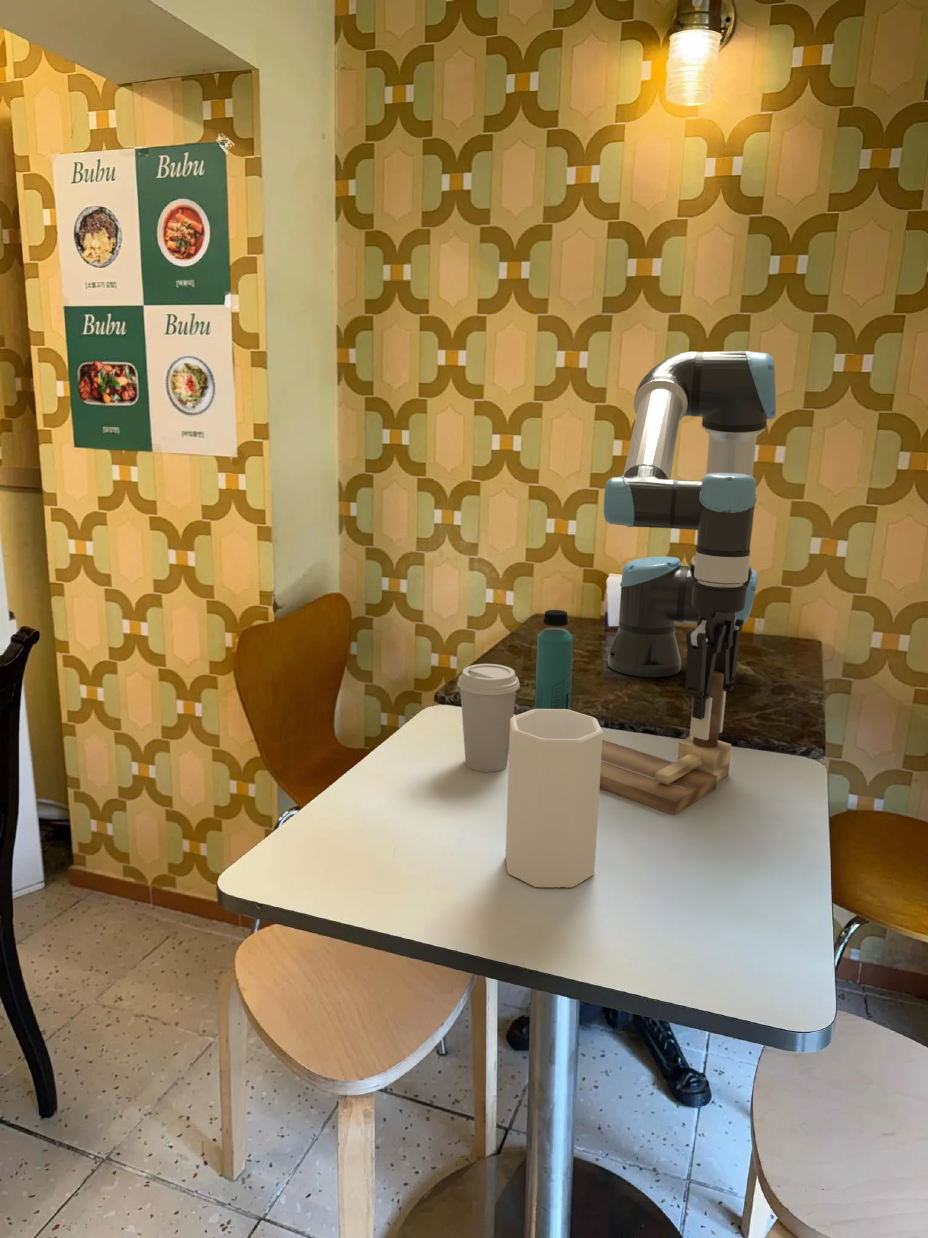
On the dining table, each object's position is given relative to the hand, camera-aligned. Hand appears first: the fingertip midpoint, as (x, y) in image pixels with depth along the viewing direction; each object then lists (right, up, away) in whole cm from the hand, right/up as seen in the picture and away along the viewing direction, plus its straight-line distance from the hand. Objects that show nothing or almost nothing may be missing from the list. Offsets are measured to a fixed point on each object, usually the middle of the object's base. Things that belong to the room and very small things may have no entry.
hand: (706, 733), depth 136 cm
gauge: (-3, -7, -2) cm, 8 cm away
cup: (-26, -13, -26) cm, 39 cm away
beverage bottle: (-21, -1, +22) cm, 31 cm away
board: (-13, -6, +1) cm, 15 cm away
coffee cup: (-33, -5, +4) cm, 34 cm away
